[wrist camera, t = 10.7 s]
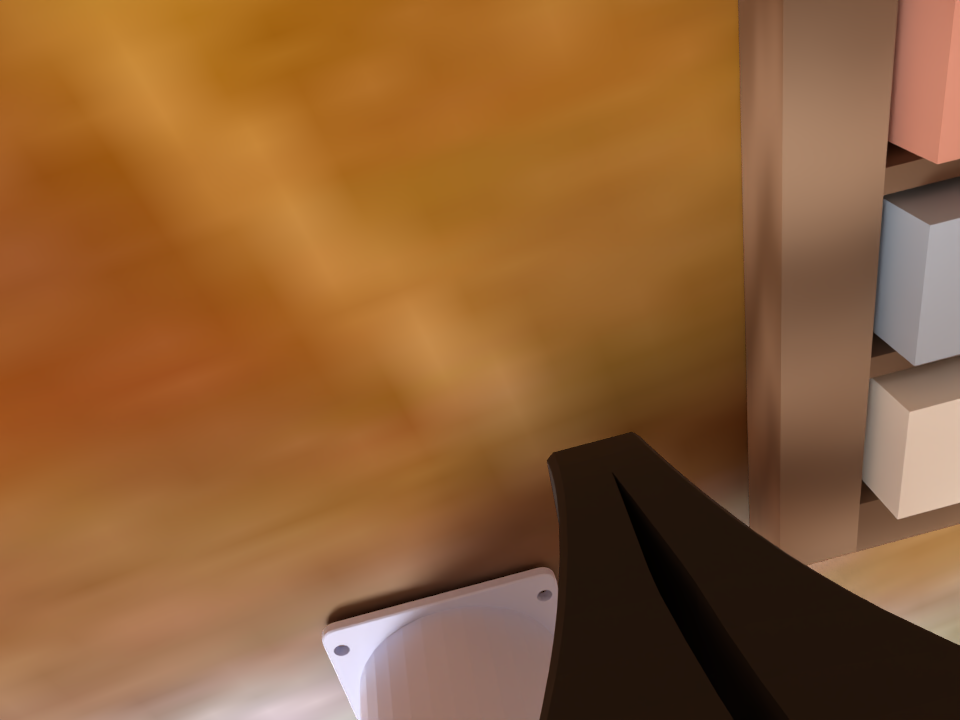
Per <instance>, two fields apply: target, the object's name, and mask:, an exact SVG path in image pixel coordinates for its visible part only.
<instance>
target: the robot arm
mask: <svg viewBox="0 0 960 720" xmlns="http://www.w3.org/2000/svg"><path fill="white" fill-rule="evenodd" d="M547 464H548V469H549V474H550V480H551V485H552V490H553V495H554V500H555V506H556V511H557V516H558V521H559V541H560V567H559V584H558V585H557V581H556V578H555V575H554V573H553V571H552V570H551V569H549V568H546V567H540V568H535V569H531V570H527V571H524V572H520V573H516V574H512V575H509V576H505V577H501V578H497V579H494V580H490V581H486V582H483V583H479V584H475V585H471V586H468V587H464V588H460V589H456V590H453V591H449V592H445V593H441V594H438V595H434V596H430V597H427V598H423V599H419V600H415V601H412V602H408V603H404V604H400V605H397V606H393V607H389V608H385V609H382V610H378V611H374V612H371V613H367V614H363V615H359V616H356V617H352V618H348V619H344V620H341V621H337V622H333V623H331V624H329V625H327V626H326V627H325V628H324V629H323V632H322V642H323V645H324V647H325V650H326V652H327V654H328V656H329V658H330V661H331V663H332V665H333V667H334V669H335V672H336V674H337V676H338V678H339V680H340V683H341V685H342V687H343V689H344V692H345V694H346V696H347V698H348V700H349V703H350V705H351V707H352V709H353V711H354V714H355V716H356V718H357V720H960V645H958V644H955V643H953V642H951V641H949V640H946V639H944V638H942V637H940V636H938V635H936V634H934V633H932V632H930V631H928V630H925V629H923V628H921V627H919V626H917V625H915V624H913V623H911V622H909V621H907V620H904V619H902V618H900V617H898V616H896V615H894V614H892V613H890V612H888V611H886V610H883V609H882V608H880V607H878V606H876V605H874V604H872V603H870V602H869V601H867V600H865V599H863V598H861V597H859V596H857V595H856V594H854V593H852V592H850V591H848V590H847V589H845V588H843V587H841V586H840V585H838V584H836V583H835V582H833V581H831V580H829V579H828V578H826V577H824V576H822V575H821V574H819V573H817V572H816V571H814V570H813V569H811V568H809V567H808V566H806V565H804V564H803V563H801V562H800V561H798V560H797V559H795V558H794V557H792V556H790V555H789V554H787V553H786V552H784V551H783V550H781V549H780V548H778V547H777V546H776V545H774V544H773V543H771V542H770V541H768V540H767V539H765V538H764V537H762V536H761V535H759V534H758V533H757V532H755V531H754V530H752V529H751V528H750V527H748V526H747V525H745V524H744V523H743V522H741V521H740V520H739V519H737V518H736V517H735V516H733V515H732V514H731V513H729V512H728V511H727V510H726V509H724V508H723V507H722V506H720V505H719V504H718V503H717V502H715V501H714V500H713V499H711V498H710V497H709V496H707V495H706V494H705V493H704V492H702V491H701V490H700V489H699V488H698V487H696V486H695V485H694V484H693V483H691V482H690V481H689V480H688V479H687V478H686V477H684V476H683V475H682V474H681V473H680V472H679V471H677V470H676V469H675V468H674V467H673V466H672V465H670V464H669V463H668V462H667V461H666V460H665V459H664V458H663V457H661V456H660V455H659V454H658V453H657V452H656V451H655V450H654V449H653V448H652V447H651V446H649V445H648V444H647V443H646V442H645V441H644V440H643V439H642V438H641V437H640V436H638V435H637V434H635V433H633V432H630V433H626V434H622V435H619V436H615V437H611V438H607V439H603V440H600V441H596V442H592V443H588V444H584V445H581V446H577V447H573V448H569V449H565V450H561V451H558V452H554V453H553V454H552V455H551V456H550V457H549V459H548V460H547ZM543 590H547V591H545V592H542V593H539V592H541V591H543ZM339 645H345V646H339Z"/></svg>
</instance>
